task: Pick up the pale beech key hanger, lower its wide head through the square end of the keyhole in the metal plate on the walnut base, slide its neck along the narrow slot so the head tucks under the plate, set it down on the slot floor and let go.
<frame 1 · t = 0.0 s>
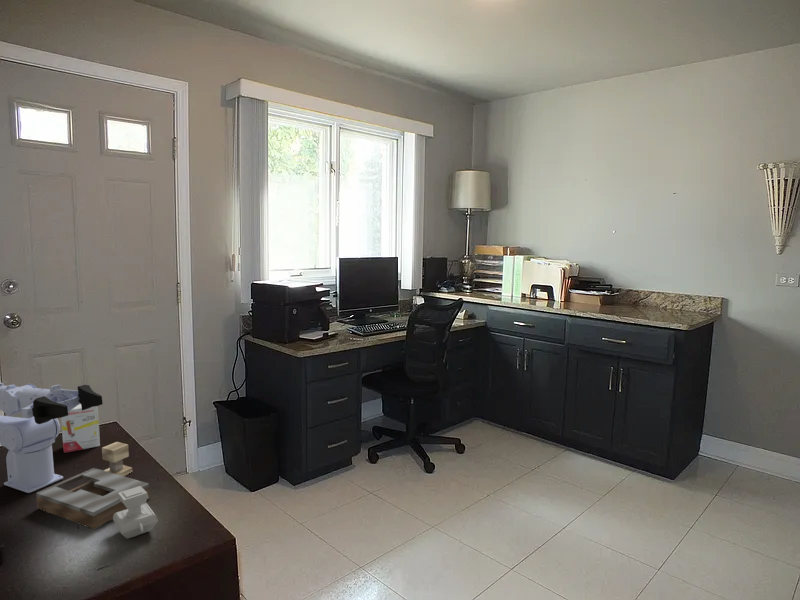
hand: (84, 405, 110), 22 cm above the table, tool horizontal, fingers open, 7 cm apart
keyhole base: (94, 503, 112), on the table
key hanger: (116, 474, 126), on the table
ink box: (81, 447, 141), on the table
stamp: (136, 532, 102), on the table
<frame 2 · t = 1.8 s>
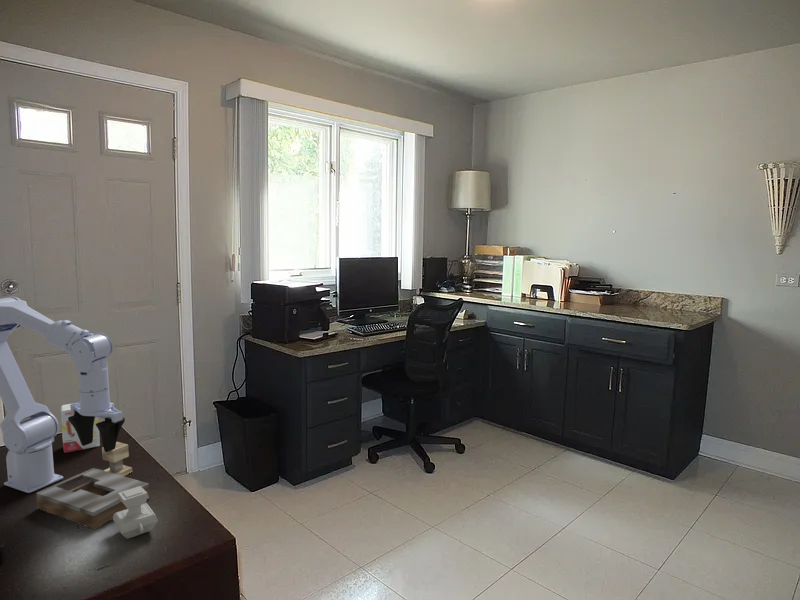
hand: (98, 447, 116), 10 cm above the table, tool pointing down, fingers open, 7 cm apart
nothing on the table moved.
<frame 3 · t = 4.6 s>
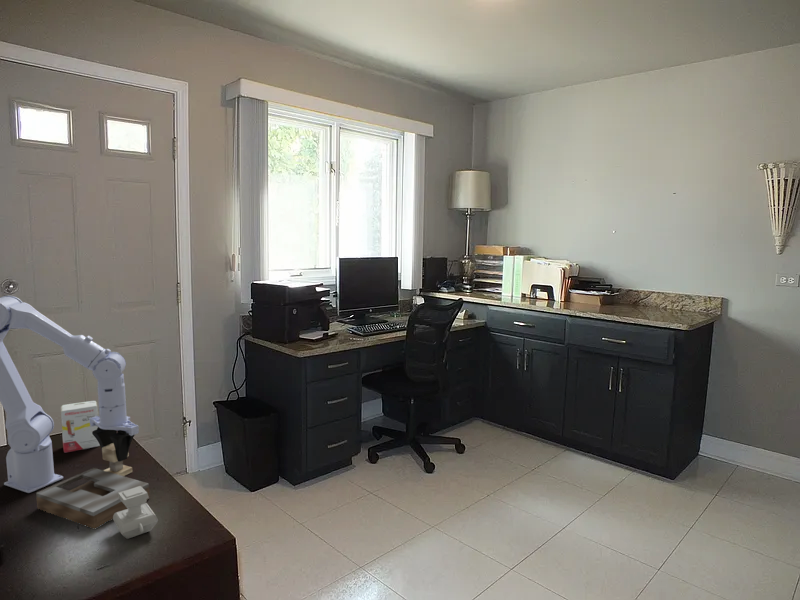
hand: (115, 458, 125), 4 cm above the table, tool pointing down, fingers closed on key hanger, 4 cm apart
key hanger: (116, 474, 126), on the table, touching gripper
everything else where it was.
when the fingers open (5 cm above the table, at t = 11.0 s): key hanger stays where it is, resting on keyhole base.
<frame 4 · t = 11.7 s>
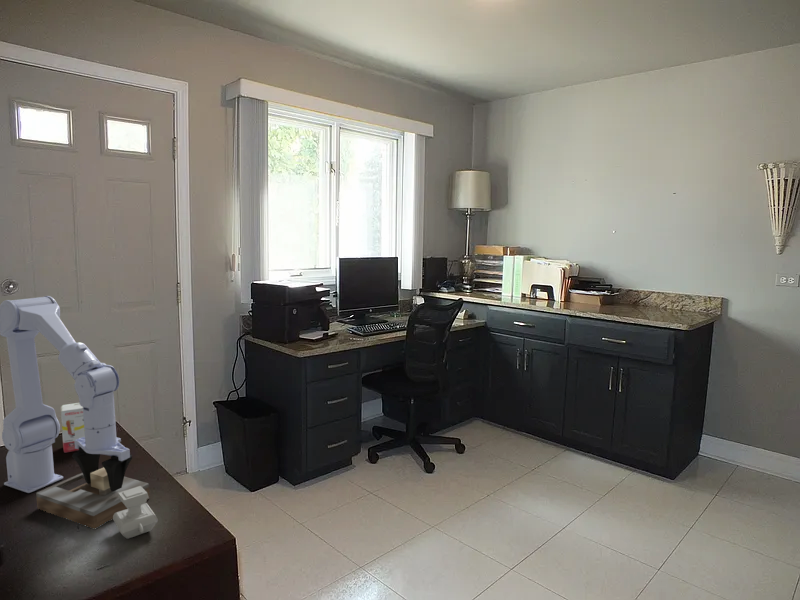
hand: (104, 485, 110), 5 cm above the table, tool pointing down, fingers open, 7 cm apart
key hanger: (107, 502, 111), point 1 cm above the table, touching keyhole base
everything else where it was.
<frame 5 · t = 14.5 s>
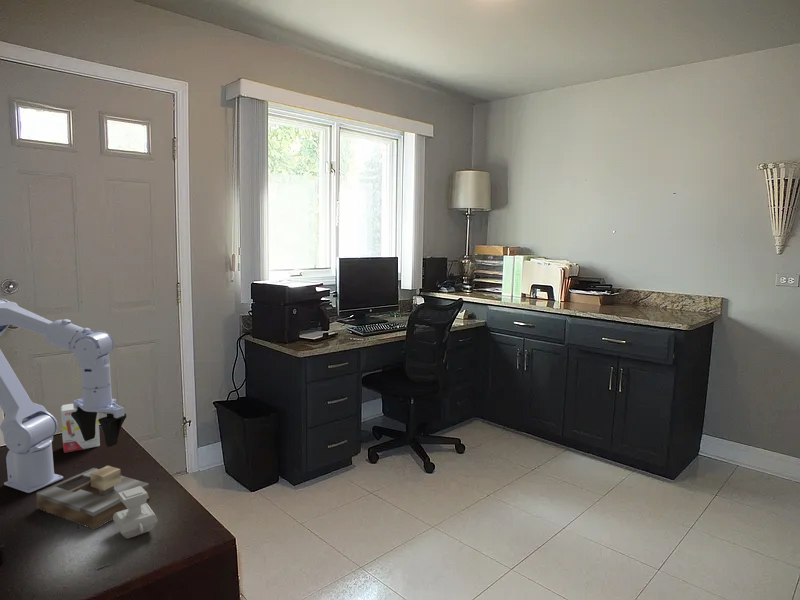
hand: (100, 442, 119), 10 cm above the table, tool pointing down, fingers open, 7 cm apart
nothing on the table moved.
at the end: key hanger 0.5 cm from the target spot on the keyhole base, point 0.8 cm above the keyhole base's base; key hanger tilted 0°; the gripper is holding nothing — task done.
